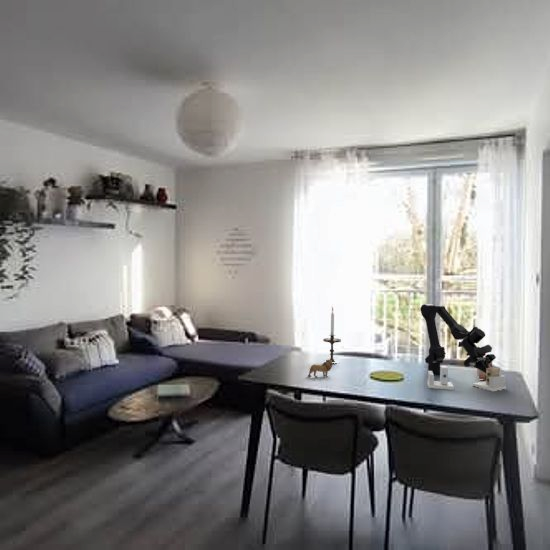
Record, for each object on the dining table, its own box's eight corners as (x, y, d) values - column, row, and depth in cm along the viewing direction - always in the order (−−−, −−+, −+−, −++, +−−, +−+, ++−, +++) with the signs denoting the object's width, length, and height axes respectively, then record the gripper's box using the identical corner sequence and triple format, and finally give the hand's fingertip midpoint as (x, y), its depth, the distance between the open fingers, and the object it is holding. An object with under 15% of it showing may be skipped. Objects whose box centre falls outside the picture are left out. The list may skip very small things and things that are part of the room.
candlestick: (320, 361, 302) (321, 305, 302) (336, 360, 305) (337, 305, 304) (326, 364, 292) (327, 307, 291) (343, 364, 294) (344, 306, 294)
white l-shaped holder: (472, 386, 242) (472, 373, 242) (485, 384, 247) (485, 371, 247) (493, 391, 232) (493, 378, 232) (506, 389, 237) (506, 376, 237)
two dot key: (485, 384, 238) (485, 368, 238) (493, 383, 241) (494, 367, 241) (490, 386, 235) (491, 369, 235) (499, 384, 238) (499, 368, 238)
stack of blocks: (476, 372, 276) (477, 351, 276) (488, 373, 274) (489, 352, 274) (479, 380, 256) (479, 357, 256) (491, 381, 254) (492, 358, 254)
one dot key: (446, 381, 243) (446, 365, 243) (447, 384, 237) (448, 368, 237) (439, 381, 244) (440, 365, 244) (441, 383, 238) (441, 367, 238)
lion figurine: (329, 374, 264) (329, 358, 264) (334, 376, 259) (334, 360, 259) (305, 376, 258) (305, 359, 258) (309, 378, 253) (310, 361, 253)
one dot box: (450, 384, 245) (451, 372, 245) (453, 389, 235) (453, 376, 235) (427, 383, 247) (427, 370, 247) (428, 387, 238) (429, 374, 237)
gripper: (468, 340, 239) (488, 366, 230) (492, 338, 249) (512, 363, 239) (455, 353, 246) (473, 379, 237) (479, 351, 256) (497, 376, 246)
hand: (489, 374), depth 240 cm, fingers closed, pressing on two dot key
